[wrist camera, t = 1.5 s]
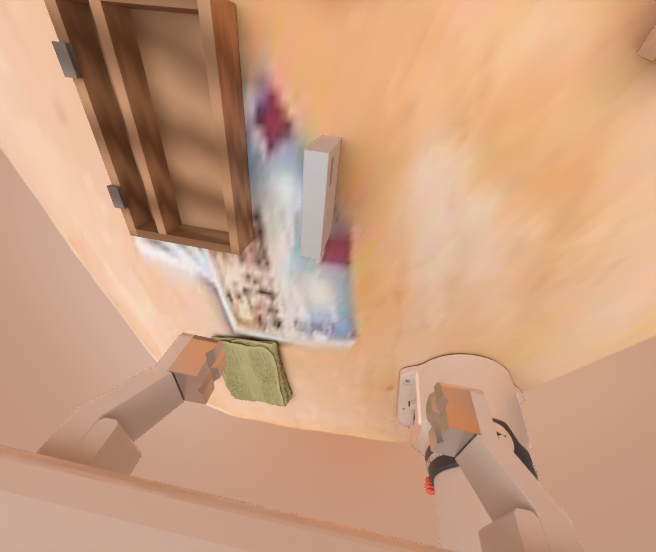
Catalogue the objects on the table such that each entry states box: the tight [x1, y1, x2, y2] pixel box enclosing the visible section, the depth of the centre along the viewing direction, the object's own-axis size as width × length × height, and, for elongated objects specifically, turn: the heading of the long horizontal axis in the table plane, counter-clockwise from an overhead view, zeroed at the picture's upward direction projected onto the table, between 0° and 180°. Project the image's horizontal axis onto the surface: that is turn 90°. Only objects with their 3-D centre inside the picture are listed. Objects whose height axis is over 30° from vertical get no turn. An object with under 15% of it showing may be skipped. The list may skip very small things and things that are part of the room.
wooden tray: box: [44, 0, 254, 255], centre depth 28 cm, size 22×14×5 cm, turn 175°
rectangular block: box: [301, 136, 342, 260], centre depth 28 cm, size 10×2×7 cm, turn 175°
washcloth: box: [211, 336, 292, 406], centre depth 52 cm, size 13×18×3 cm
